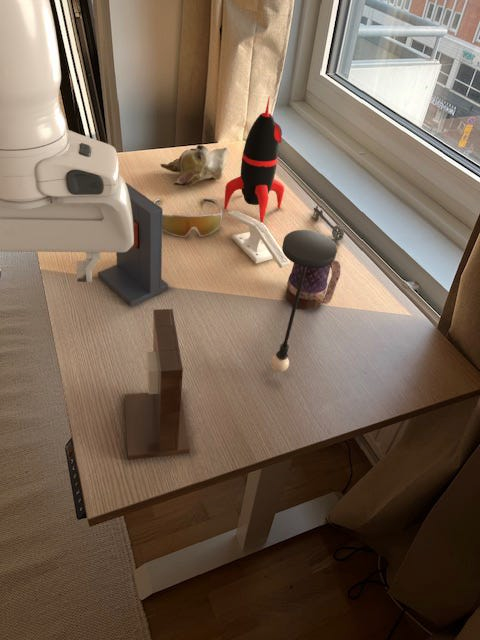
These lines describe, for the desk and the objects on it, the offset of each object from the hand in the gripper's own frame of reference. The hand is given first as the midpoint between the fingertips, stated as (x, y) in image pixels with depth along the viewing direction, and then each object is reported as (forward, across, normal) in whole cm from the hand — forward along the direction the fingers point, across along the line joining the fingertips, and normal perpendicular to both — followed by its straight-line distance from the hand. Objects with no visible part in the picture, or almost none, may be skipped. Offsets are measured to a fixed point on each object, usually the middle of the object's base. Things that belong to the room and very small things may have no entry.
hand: (39, 278), depth 56 cm
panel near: (+23, +13, -4) cm, 26 cm away
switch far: (+14, +9, +27) cm, 32 cm away
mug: (+23, +41, +21) cm, 51 cm away
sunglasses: (+23, +22, +48) cm, 58 cm away
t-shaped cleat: (+23, +34, +38) cm, 56 cm away
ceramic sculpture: (+23, +25, +66) cm, 74 cm away
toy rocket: (+23, +36, +53) cm, 68 cm away
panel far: (+23, +10, +27) cm, 37 cm away
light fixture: (+23, +32, +4) cm, 39 cm away
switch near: (+14, +12, -4) cm, 19 cm away
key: (+23, +52, +45) cm, 72 cm away
